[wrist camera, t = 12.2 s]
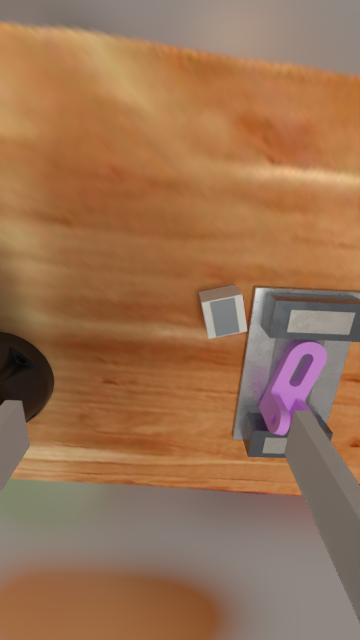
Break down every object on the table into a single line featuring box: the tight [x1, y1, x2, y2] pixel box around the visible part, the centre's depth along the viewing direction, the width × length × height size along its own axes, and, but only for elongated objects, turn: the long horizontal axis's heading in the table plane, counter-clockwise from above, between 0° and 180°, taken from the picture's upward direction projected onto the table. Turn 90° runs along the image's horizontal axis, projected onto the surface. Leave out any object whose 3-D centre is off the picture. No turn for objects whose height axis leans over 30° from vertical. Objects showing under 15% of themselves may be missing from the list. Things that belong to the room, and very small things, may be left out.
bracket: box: [259, 339, 327, 435], centre depth 39 cm, size 13×6×7 cm, turn 163°
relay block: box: [199, 285, 247, 339], centre depth 37 cm, size 5×5×5 cm
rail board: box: [232, 286, 360, 458], centre depth 41 cm, size 15×26×5 cm, turn 177°
